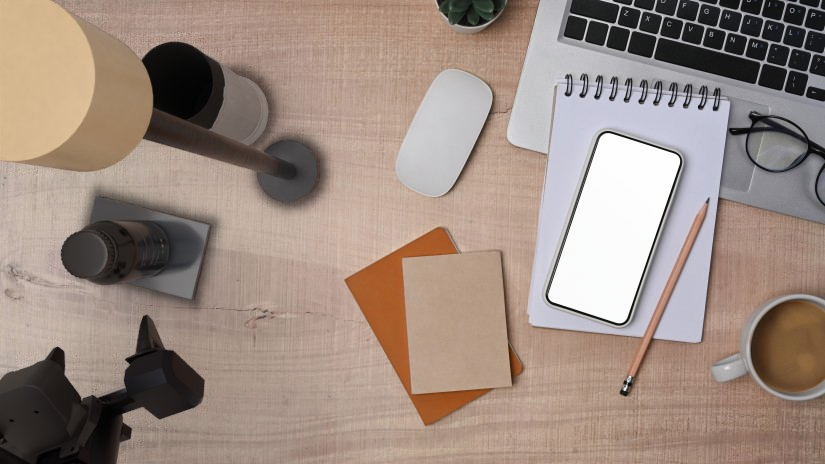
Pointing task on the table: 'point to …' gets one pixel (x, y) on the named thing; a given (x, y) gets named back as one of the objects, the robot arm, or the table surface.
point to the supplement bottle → (115, 251)
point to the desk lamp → (107, 105)
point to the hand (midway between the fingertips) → (103, 333)
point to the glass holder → (205, 92)
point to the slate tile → (183, 245)
